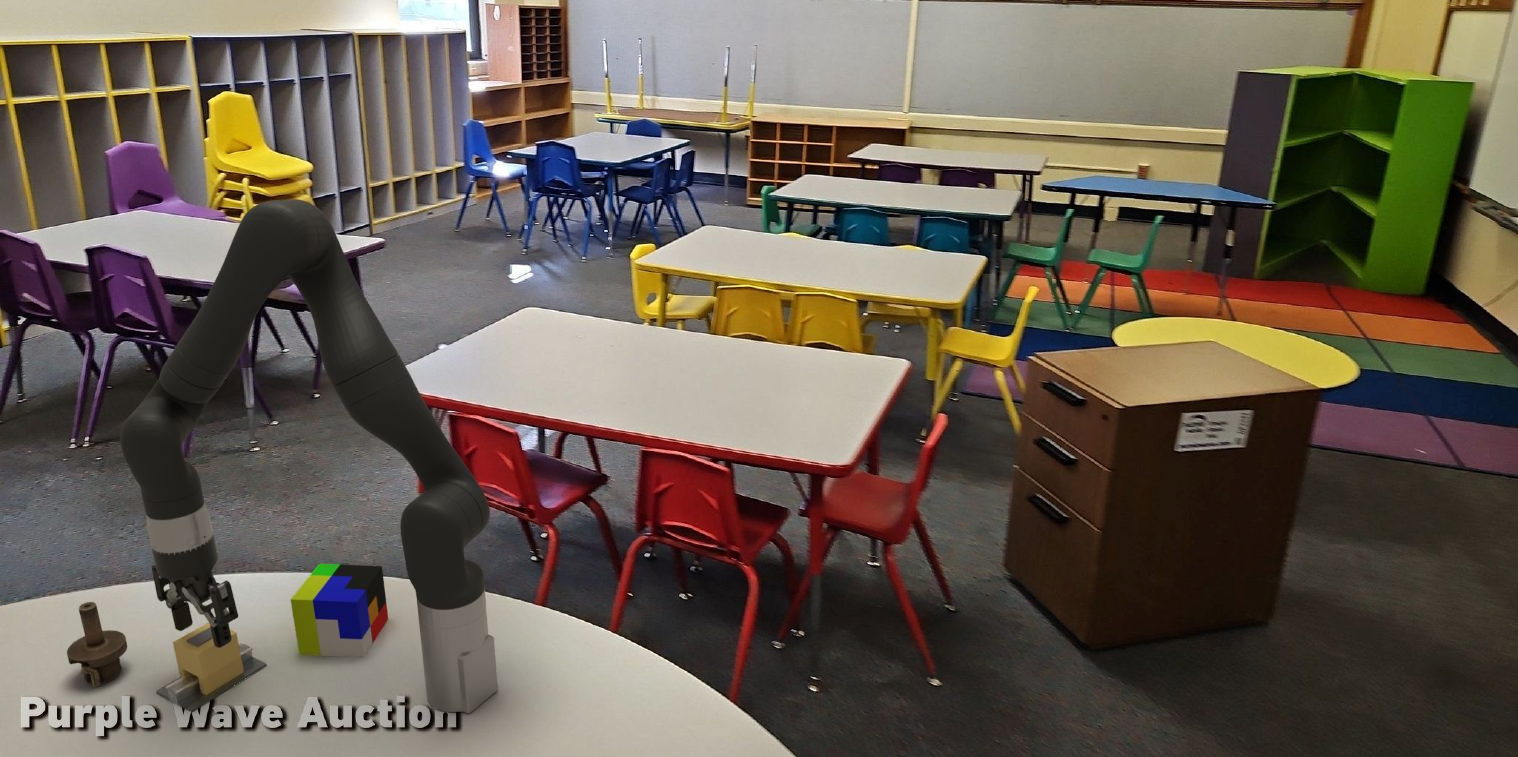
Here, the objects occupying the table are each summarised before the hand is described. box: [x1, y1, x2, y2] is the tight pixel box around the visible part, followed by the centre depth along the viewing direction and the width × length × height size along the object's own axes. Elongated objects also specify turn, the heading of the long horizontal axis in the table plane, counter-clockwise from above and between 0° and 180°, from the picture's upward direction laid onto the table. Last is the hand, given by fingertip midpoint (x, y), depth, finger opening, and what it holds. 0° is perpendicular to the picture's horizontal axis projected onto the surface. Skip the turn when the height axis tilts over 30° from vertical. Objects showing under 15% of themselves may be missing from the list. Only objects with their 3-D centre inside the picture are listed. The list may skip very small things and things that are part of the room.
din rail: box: [155, 642, 268, 713], centre depth 146 cm, size 8×12×2 cm, turn 152°
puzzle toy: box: [290, 563, 389, 658], centre depth 156 cm, size 10×10×10 cm
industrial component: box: [66, 601, 128, 688], centre depth 145 cm, size 9×7×12 cm
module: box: [172, 622, 244, 695], centre depth 145 cm, size 6×6×7 cm
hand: (203, 635), depth 143 cm, fingers open, 8 cm apart
